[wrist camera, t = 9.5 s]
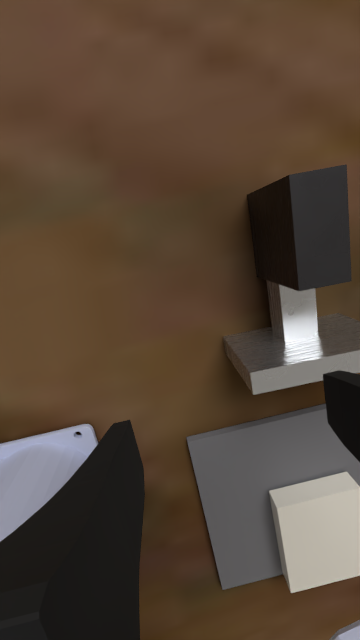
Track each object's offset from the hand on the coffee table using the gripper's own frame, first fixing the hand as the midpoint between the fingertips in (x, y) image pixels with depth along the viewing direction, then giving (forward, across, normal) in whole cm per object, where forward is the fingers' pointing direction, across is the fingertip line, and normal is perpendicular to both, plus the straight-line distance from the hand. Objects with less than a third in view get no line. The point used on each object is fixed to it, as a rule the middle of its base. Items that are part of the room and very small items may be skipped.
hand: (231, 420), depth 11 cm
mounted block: (+10, -6, -3) cm, 12 cm away
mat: (+10, -6, +14) cm, 18 cm away
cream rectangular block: (+8, -6, +12) cm, 16 cm away
